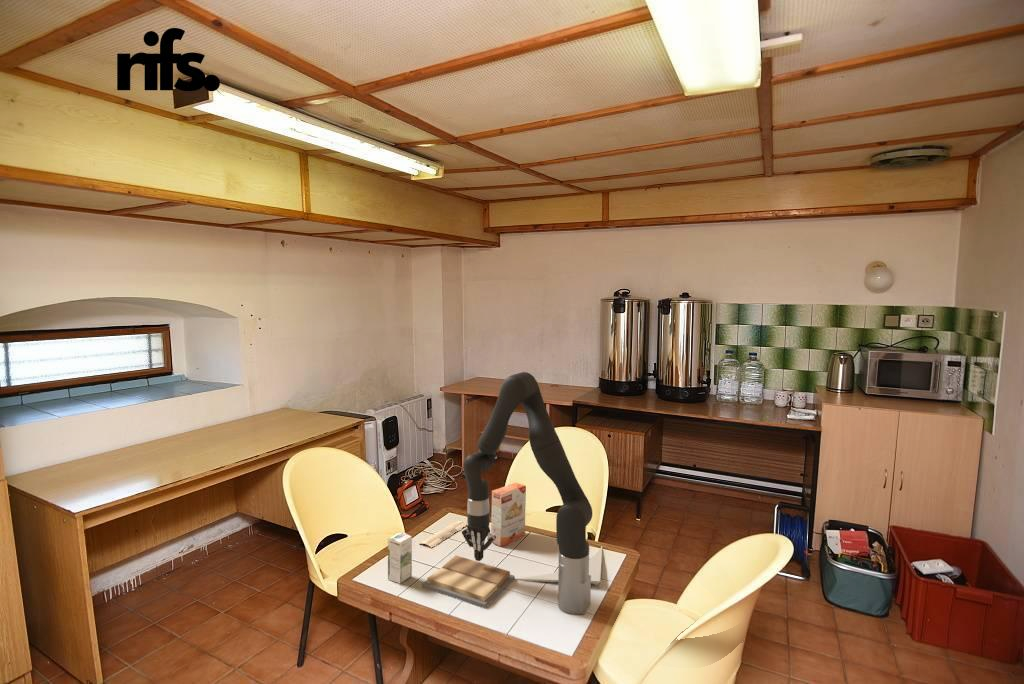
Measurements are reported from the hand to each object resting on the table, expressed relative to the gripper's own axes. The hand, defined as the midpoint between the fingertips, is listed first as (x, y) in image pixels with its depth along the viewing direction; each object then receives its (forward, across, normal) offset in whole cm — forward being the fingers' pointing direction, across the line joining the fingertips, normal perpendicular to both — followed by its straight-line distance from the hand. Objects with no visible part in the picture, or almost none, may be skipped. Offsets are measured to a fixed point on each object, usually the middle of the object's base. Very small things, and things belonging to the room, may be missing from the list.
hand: (478, 559), depth 175 cm
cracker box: (+6, +4, -28) cm, 29 cm away
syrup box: (+6, +22, +15) cm, 27 cm away
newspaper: (+6, +28, -19) cm, 35 cm away
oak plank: (+4, 0, +10) cm, 11 cm away
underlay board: (+6, 0, +6) cm, 8 cm away
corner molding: (+6, -20, -22) cm, 31 cm away
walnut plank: (+4, 0, +2) cm, 4 cm away
